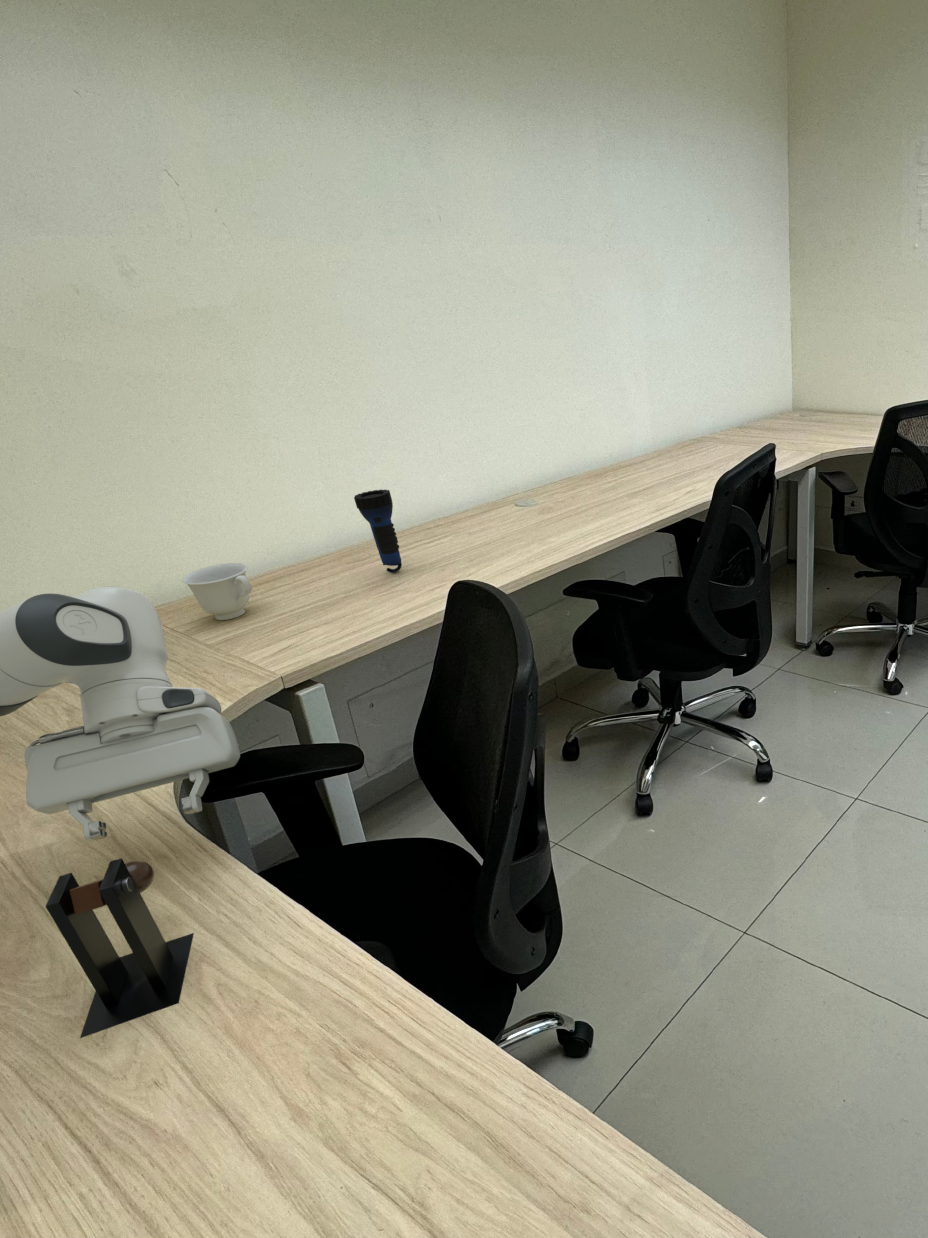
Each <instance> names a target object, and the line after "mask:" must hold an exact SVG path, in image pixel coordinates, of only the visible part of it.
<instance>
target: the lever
mask: <svg viewBox="0 0 928 1238" xmlns="http://www.w3.org/2000/svg"><path fill="white" fill-rule="evenodd" d="M124 863H125V865H126V867H127V869H128V871H129V873H130V875H131V877H132V879H133V881H134V882H135V884H136V886H137V888H138V890H139V892H140V894H141V893H143V892H145V891H146V890H147V889H148V888H149V887H150V886H151V885H152V884H153V882H154V878H155V871H154V869H153V866H152V865H150V864H149V863H148V862H146V861H144V860H130V861H126V862H124ZM102 881H103V878H101V879H98V880H94V881H91V882H87V883H84V884H83V883H82V884H81V885H79V886H78V887H76V888H73V889H71V890H70V895H71V899H72V903H73V907H74V912H75V915H77V914H80V913H83V912H87V911H90V910H93V911H94V910H96V909H99V908H103V907H105V906H107V905H106V903H105V901H104V899H103V897H102V896H101V894H100V892H99V889H100V886H101V884H102Z"/></svg>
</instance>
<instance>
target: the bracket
mask: <svg viewBox="0 0 928 1238" xmlns="http://www.w3.org/2000/svg"><path fill="white" fill-rule="evenodd" d="M125 863H126V862H124V859H123V858H122V857H121V858H117V859H114V860H110V861H109V863H108V866H107V867H106V871H105V874H104V876H103V878H102V879H103V881H102V884H101V886H100V889H99V892H100V894H101V896H102V897H103V899H104V901H105V903H106V905H105V906H107V909H108V910H109V912H110V914H111V916H112V918H113V919H114V921H115V923H116V924H117V926H118V928H119V930H120V933H121V934H122V935H123V937H124V939H125V941H126V943H127V945H128V947H129V948H130V950H131V952H130V953H128V954H125V955H121V956H119V954H118V952H117V950H116V949H115V947H114V944H113V943H112V942H111V939H110V938H109V937H108V934H107V933H106V931H105V929H104V928H103V926H102V924H101V922H100V920H99V918H98V917H97V915H96V913H95V911H94V909H93V910H90V911H87V912H83V913H80V914H77V915H75V912H74V907H73V903H72V899H71V895H70V890H71V889H73V888H76V887H78V886H80V885H79V882H78V881H77V879H76V877H75V876H74V874H73V872H69V873H65V874H61V875H60V876H58V878H57V880H56V881H55V884H54V887H53V889H52V891H51V893H50V896H49V897H48V900H47V902H46V904H45V908H46V910H47V912H48V914H49V915H50V917H51V919H52V920H53V922H54V924H55V925H56V927H57V929H58V930H59V932H60V933H61V935H62V937H63V939H64V940H65V942H66V944H67V945H68V947H69V948H70V951H71V952H72V953H73V955H74V957H75V958H76V961H77V962H78V963H79V965H80V967H81V969H82V970H83V972H84V974H85V976H86V977H87V979H88V981H89V982H90V984H91V985H92V987H93V989H94V990H95V992H94V994H93V998H92V1000H91V1004H90V1006H89V1010H88V1013H87V1016H86V1019H85V1022H84V1025H83V1028H82V1031H81V1033H80V1036H79V1039H82V1038H86V1037H88V1036H92V1035H93V1034H96V1033H100V1032H102V1031H105V1030H107V1029H111V1028H114V1027H116V1026H119V1025H121V1024H124V1023H127V1022H130V1021H133V1020H135V1019H138V1018H141V1017H144V1016H146V1015H150V1014H153V1013H156V1012H158V1011H162V1010H164V1009H166V1008H169V1007H173V1006H176V1005H178V1004H180V999H181V994H182V991H183V986H184V981H185V977H186V973H187V967H188V962H189V958H190V954H191V953H190V952H191V949H192V943H193V939H194V935H195V934H194V932H192V933H189V934H186V935H183V936H180V937H176V938H173V939H170V940H168V941H166V940H165V938H164V935H162V934H163V933H162V932H161V930H160V928H159V927H158V925H157V923H156V921H155V919H154V917H153V915H152V913H151V911H150V909H149V907H148V906H147V904H146V902H145V900H144V898H143V896H142V894H141V893H140V892H139V890H138V888H137V886H136V884H135V882H134V881H133V879H132V877H131V875H130V873H129V871H128V869H127V867H126V865H125Z"/></svg>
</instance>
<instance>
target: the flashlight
mask: <svg viewBox="0 0 928 1238" xmlns="http://www.w3.org/2000/svg"><path fill="white" fill-rule="evenodd" d="M353 499H354V502H355V506H356V509H358V511H359V512H360V514H361V516H362V517H363V518H364V519H365V521H367V522H368V524H369V526H370V530H371V532H372V536H373V539H374V543H375V545H376V548H377V551H378V554H379V557H380V560H381V563H382V566H389V567H388V568H386V571H387V572H389V573H397V572H399V571H400V570H401V568H402V565H403V564H402V557H401V553H400V545H399V540H398V536H397V532H396V529H395V527H394V526H395V525H394V523H393V522H392V515H393V510H394V509H393V508H394V507H393V506H394V505H393V504H394V503H393V499H392V495H391V491H390V489H373V490H367V491H364V492H361V493H357V494H355V495H354V497H353ZM390 567H395V568H390Z"/></svg>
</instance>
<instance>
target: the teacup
mask: <svg viewBox="0 0 928 1238" xmlns="http://www.w3.org/2000/svg"><path fill="white" fill-rule="evenodd" d="M247 569H248V566H247V565H245V564H244V563H240V562H239V563H238V562H229V563H220V564H219V563H218V564H214V565H210V566H209V565H208V566H206V567H203V568H199V569H197V570H194V571H192V572H189V573H187V574H186V575H184V577H183V578H182V580H181V583H183V584H185V585H186V586H187V587H188V588H189V589H190V590H191V592H192V594H193V596H194V598H195V599H196V601H197V603H198V604H199V607H200V608H201V609H202V610H203V611H204V612H206V613H208V614H210V615H214V618H215V620H217V621H227V620H232V619H235V618H239V617H241V616H242V615H244V614H245V613H246V609H245V607H246V606H247V605H248V604H249V601H250V594H251V593H252V588H253V587H252V586H253V585H252V583H251V582H250V581H251V580H250V579H249V578H248V577H247V576H246V572H247Z"/></svg>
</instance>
